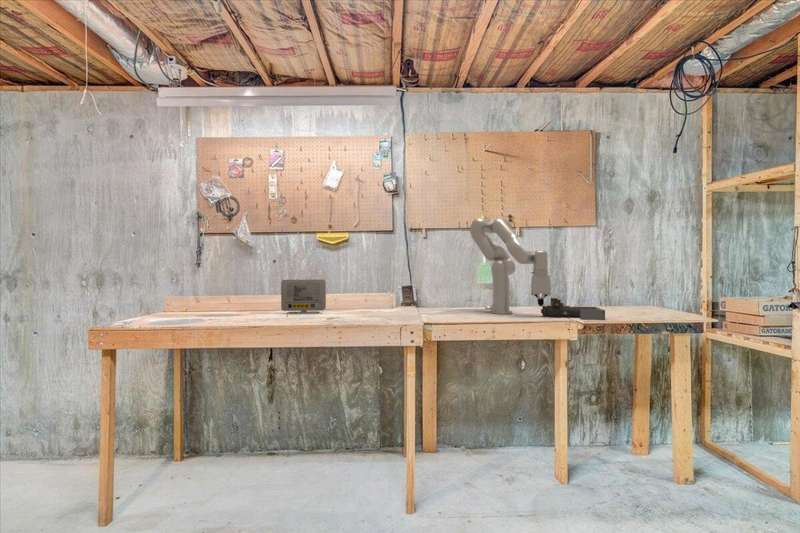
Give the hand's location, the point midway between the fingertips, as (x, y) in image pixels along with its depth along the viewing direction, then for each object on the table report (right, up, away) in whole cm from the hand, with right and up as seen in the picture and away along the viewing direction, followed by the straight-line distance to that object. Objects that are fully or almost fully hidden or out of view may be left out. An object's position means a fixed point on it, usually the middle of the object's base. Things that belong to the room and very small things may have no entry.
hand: (540, 305), depth 231 cm
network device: (-136, -6, +16) cm, 137 cm away
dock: (+24, -6, -5) cm, 26 cm away
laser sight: (+11, -6, -2) cm, 13 cm away
